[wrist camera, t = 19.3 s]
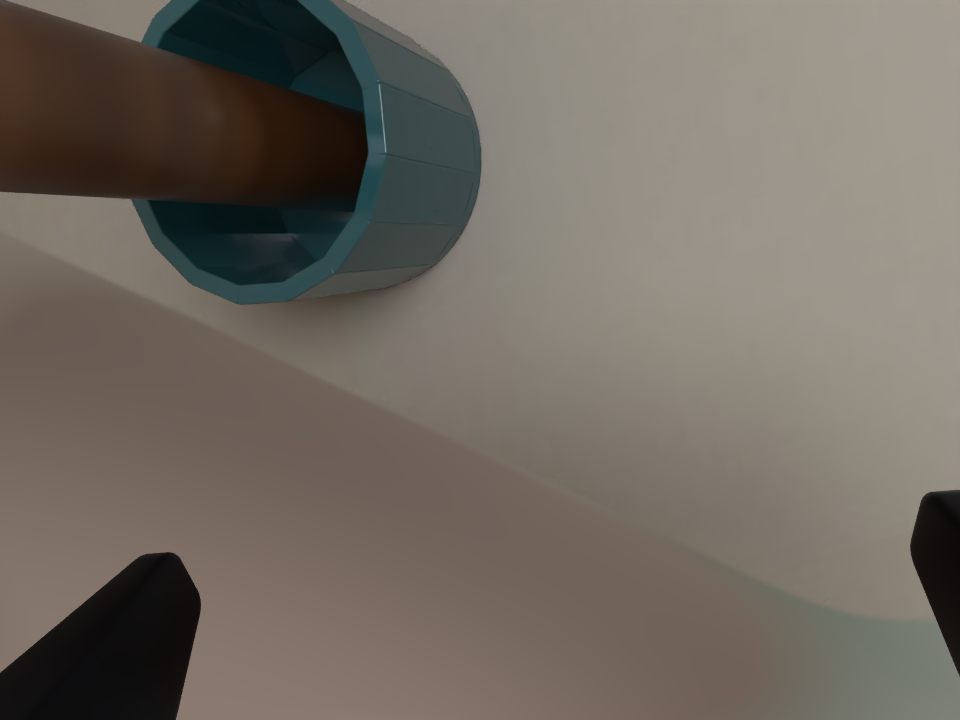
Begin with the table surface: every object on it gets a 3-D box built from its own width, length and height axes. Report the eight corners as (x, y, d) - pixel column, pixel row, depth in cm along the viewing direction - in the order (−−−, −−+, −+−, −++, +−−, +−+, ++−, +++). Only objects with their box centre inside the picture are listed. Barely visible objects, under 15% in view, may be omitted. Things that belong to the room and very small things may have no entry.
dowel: (406, 117, 21) (-54, -37, 9) (394, 218, 22) (-47, 199, 10) (322, 107, 22) (-194, -43, 10) (313, 204, 23) (-180, 171, 11)
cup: (524, 216, 21) (441, 210, 15) (329, 325, 24) (202, 352, 18) (412, -19, 21) (289, -111, 15) (232, 119, 24) (76, 86, 18)
